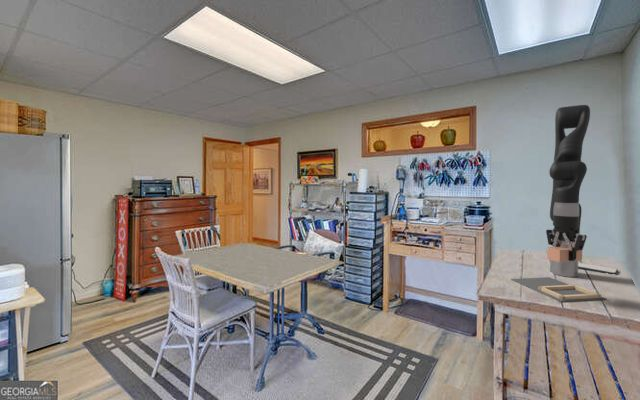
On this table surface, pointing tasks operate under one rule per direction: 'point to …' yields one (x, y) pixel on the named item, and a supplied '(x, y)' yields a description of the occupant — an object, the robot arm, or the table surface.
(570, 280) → the table surface
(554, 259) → the terracotta block
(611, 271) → the phone case
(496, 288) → the table surface
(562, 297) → the mat
